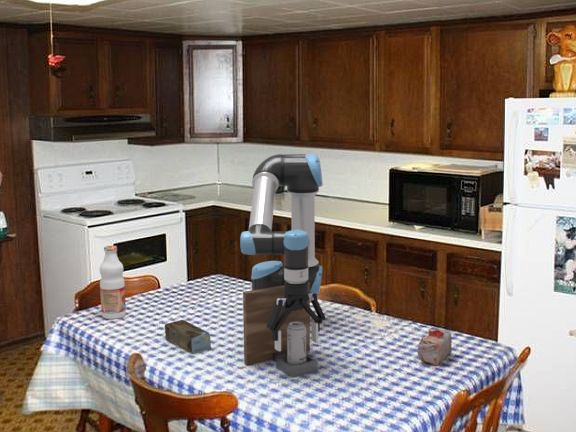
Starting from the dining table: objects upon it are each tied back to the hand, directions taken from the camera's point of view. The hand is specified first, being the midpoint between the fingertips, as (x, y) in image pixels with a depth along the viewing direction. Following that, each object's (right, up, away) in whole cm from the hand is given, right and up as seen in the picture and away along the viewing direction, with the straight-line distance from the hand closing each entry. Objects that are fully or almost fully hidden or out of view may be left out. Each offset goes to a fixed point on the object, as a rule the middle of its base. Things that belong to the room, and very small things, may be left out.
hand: (296, 346), depth 221 cm
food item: (+46, -6, +9) cm, 47 cm away
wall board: (-6, -6, +11) cm, 14 cm away
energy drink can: (0, -8, +1) cm, 8 cm away
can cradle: (-2, -7, +4) cm, 8 cm away
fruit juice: (-72, +1, +57) cm, 91 cm away
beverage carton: (-38, -4, +24) cm, 45 cm away
